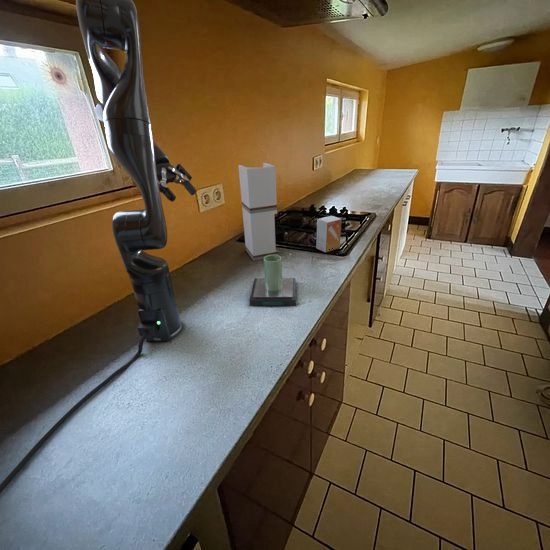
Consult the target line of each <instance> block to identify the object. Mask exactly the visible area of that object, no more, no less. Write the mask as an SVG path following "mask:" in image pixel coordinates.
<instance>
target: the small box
mask: <svg viewBox="0 0 550 550" xmlns="http://www.w3.org/2000/svg"><path fill="white" fill-rule="evenodd" d="M342 221H343V219H342V218H340V217H337V216H335V215H328V216H324V217H321V218H317V219H316V239H315V241H316V243H315V248H316V249H317V250H319V251H321V252H323V253H329V252H331V251H335V250H338V249H340V247H341V234H342ZM332 248H333V249H332ZM329 249H330V250H329Z"/></svg>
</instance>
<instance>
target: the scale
mask: <svg viewBox="0 0 550 550" xmlns="http://www.w3.org/2000/svg"><path fill="white" fill-rule="evenodd" d="M296 281H297V279H296V277H282V288H281V289H280V290H277V291H269V290H267V289H266V288H265V277H255V278H254V280H253V284H252V286H251V287H252V288H251V293H250V296H249V300H248V301H249V306H250V307H278V306H279V307H282V306H283V307H290V306H291V307H295V306H297V282H296Z"/></svg>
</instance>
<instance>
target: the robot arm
mask: <svg viewBox="0 0 550 550" xmlns="http://www.w3.org/2000/svg"><path fill="white" fill-rule="evenodd" d="M75 9H76V15H77V20H78V26H79V30H80V33H81V37H82V38H81V39H82V42H83V44H84V48H85V51H86V55H87V58H88V61H89V64H90V67H91V70H92V75H93V81H94V89H95V94H96V98H97V99H98V100H97V101H100V102H99V103H97V105H96V107H95V113H96V115H97V117H98V119H99V120H100V121H101V123H102V124H103V126H104V127H105V129H104V132H105V137H106V143H107V147H108V149H109V152H110V153H111V155H112V156H113V158H114V159H115V160H116V162H117V163H118V164H119V165H120V167H121V168H122V169H123V170H124V171H125V172H126V174H127V175H128V176H129V177H130V179H131V180H132V181H133V182H134V184H135V185H136V188H137V189H138V191H139V192H140V195H141V198H142V200H143V205H144V209H131V210H120V211H117V212H115V213H114V214H113V216H112V218H111V231H112V235H113V238H114V242H115V245H116V248H117V250H118V253H119V255H120V259H121V261H122V264H123V267H124V269H125V272H126V273H127V275H128V277H129V280H130V285H131V288H132V291H133V295H134V299H135V302H136V305H137V308H138V310H137V314H138V317H139V321H140V324H139V325H138V326H137V332H138V335H139V337H141V338H140V340H139V343H138V349H137V352H136V353H135V355H134V356H133V357H132V358H131V359H130V360H129V361H128V362H126V363H125V364H124V365H122V366H120V368H118V369H117V370H115V371H114V372H113V373H112V374H110V375H109V376H108V377H107V378H105V380H103V381H102V382H100V384H98V385H97V386H96V387H94V388H93V389H92V390H91V391H90V392H88V393H87V394H86V395H85V396H83V397H82V398H81V399H80V400H79V401H78V402H77V403H75V405H73V406H72V407H71V408H70V409H69V410H68V411H67V412H66V413H65V414H63V416H62V417H61V418H60V419H59V420H58V421H57V422H56V423H55V424H54V425H53V426H52V427H51V428H50V429H49V430H48V431H47V432H46V433H45V434H44V435H43V436H42V437H41V439H39V441H37V443H36V444H35V445H34V446H33V447H32V448H31V449H30V450H29V452H28V453H27V454H26V455H25V456H24V457H23V458H22V459H21V461H20V462H19V463H18V464H17V465H16V466H15V467H14V468H13V469H12V471H11V472H10V473H9V474H8V475H7V476H6V478H5V479H4V480H2V482H1V483H0V494H1V493H2V492H3V491H4V489H5V488H6V487H7V486H8V485H9V484H11V482H12V481H13V479H14V478H15V477H16V476H17V475H18V474H19V473H20V472H21V470H22V469H23V468H24V467H25V466H26V465H27V463H28V462H29V461H30V460H31V459H32V457H33V456H34V455H35V454H36V452H38V450H39V449H40V448H41V447H42V446H43V445H44V444H45V443H46V442H47V441H48V439H50V437H52V436H53V434H54V433H56V431H57V430H58V429H59V428H60V427H61V426H62V425H63V424H64V423H65V422H66V421H67V420H68V419H69V418H70V417H71V416H72V415H73V414H74V413H75V412H76V411H77V410H78V409H79V408H80V407H81V406H83V405H84V404H85V403H86V402H87V401H88V400H89V399H90V398H91V397H93V396H94V395H95V394H96V393H97V392H99V391H100V390H101V389H102V388H104V387H105V386H106V385H107V384H109V383H110V382H111V381H112V380H113V379H114V378H116V377H117V376H118V375H120V374H121V373H122V372H123V371H125V370H126V369H128V368H129V367H130V366H131V365H132V364H133V363H134V362H136V360H137V359H139V357H140V356H141V354H142V352H143V347H144V346H143V345H144V343H145V340H146V342H170V341H171V339H172V338H174V337H176V336H177V335H179V333H180V332H181V331H182V329H183V324H182V321H181V316H180V313H179V307H178V303H177V299H176V295H175V290H174V287H173V281H172V277H171V272H170V268H169V264H168V262H167V260H166V259H164V258H163V257H160V256H156V255H154V254H150V253H148V252H146V251H155V250H162V249H164V248H165V247H166V246H167V243H168V227H167V221H166V216H165V211H164V206H163V202H162V196H161V193H162V195H164V197H165V198H166V199H167V200H168V201H170V202H171V203H173V202H175V200H176V198H177V197H176V195H175V193H173V191H172V190H171V189H170V188H169V186H167V185H168V184H169V183H174V184H176V185H178V184H180V185H181V186H183V187H184V189H185V190H186V191H187V193H189V195H190V196H194V195H195V194H196V193H197V189H196V188H195V186H194V185H193V183H191V181H192V179H193V177H192V175H191V174H190V173H189V172H188V171H187V170H186V168H185V167H183V165H182V164H180V163H177V165H176V166H175V165H172V164H171V163H170V159H169V157H168V156H167V154H166V153H165V152H164V151H163V150H162V149H161V148H160V147H159V145H158V144H157V143H156V141H154V136H153V128H152V122H151V121H152V120H151V117H150V109H149V104H148V97H147V91H146V84H145V73H144V61H143V49H142V35H141V25H140V19H139V13H138V10H137V7H136V5H135V2H134V1H133V0H75ZM105 49H109V50H116V51H121V52H124V53H125V56H126V57H125V63H124V66H123V69H122V70H121V69H120V68H119V66H118V65H117V64H116V63H115V61H114V60H113V59H112V58H111V57H110V56H109V55H108V54H107V52H106V51H105Z"/></svg>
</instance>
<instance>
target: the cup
mask: <svg viewBox="0 0 550 550" xmlns="http://www.w3.org/2000/svg"><path fill="white" fill-rule="evenodd" d="M282 263H283V262H282V256H281V255H280V254H279V255H267V256H265V257H264V259H263V272H264V273H263V275H264V278H265V288H266V289H267V290H269V291H277V290H280V289H281V288H282V278H283V267H282V266H283V265H282Z"/></svg>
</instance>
